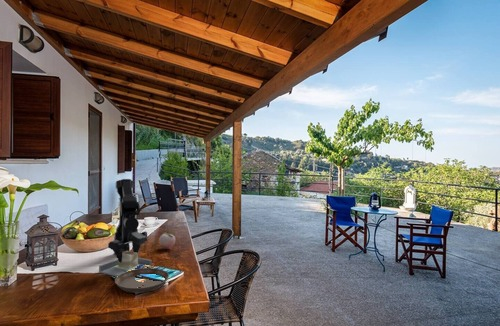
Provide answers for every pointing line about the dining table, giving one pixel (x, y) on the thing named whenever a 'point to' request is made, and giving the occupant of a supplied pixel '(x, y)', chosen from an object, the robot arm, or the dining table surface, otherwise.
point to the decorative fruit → (166, 240)
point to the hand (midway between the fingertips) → (128, 259)
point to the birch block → (129, 259)
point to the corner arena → (115, 270)
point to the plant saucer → (130, 284)
